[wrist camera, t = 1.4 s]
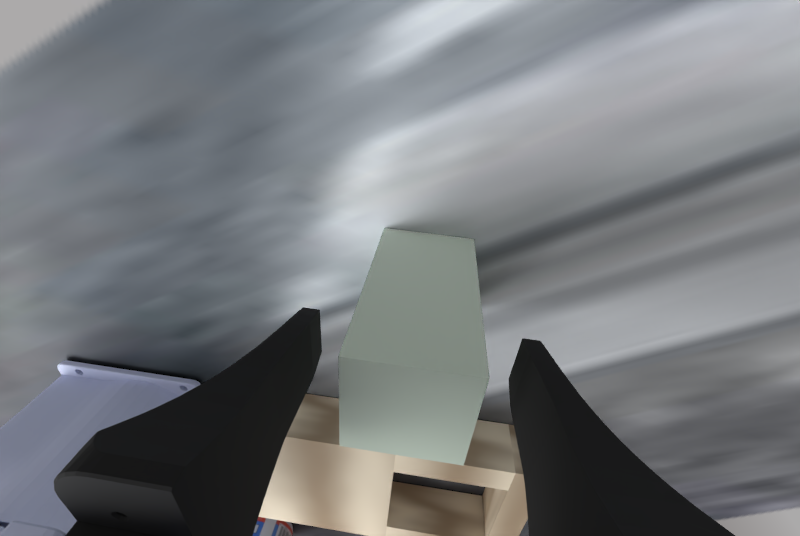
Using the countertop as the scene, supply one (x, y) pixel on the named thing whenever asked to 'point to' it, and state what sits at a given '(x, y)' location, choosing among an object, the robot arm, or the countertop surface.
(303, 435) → the socket rail
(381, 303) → the square peg
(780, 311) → the countertop surface
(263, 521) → the pill bottle
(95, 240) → the countertop surface
